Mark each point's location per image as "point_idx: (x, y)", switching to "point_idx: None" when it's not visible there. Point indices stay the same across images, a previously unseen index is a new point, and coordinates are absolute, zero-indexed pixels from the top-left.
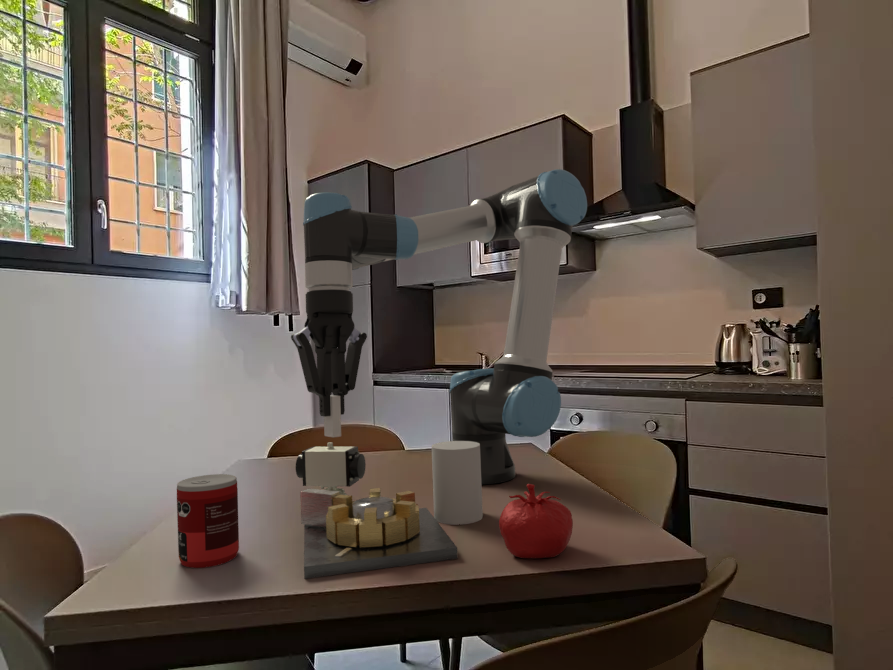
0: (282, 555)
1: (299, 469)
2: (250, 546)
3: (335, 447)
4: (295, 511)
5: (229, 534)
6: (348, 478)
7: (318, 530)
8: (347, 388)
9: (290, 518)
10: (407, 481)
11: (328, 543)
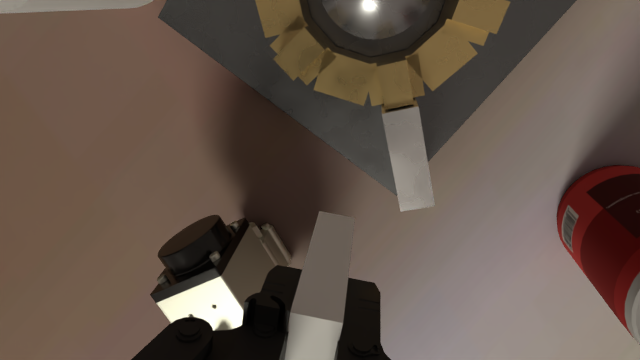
0: (532, 102)
1: None
2: (522, 202)
3: None
4: None
5: (637, 182)
6: (241, 228)
7: (430, 113)
8: (212, 343)
9: (357, 272)
10: (16, 259)
11: None
